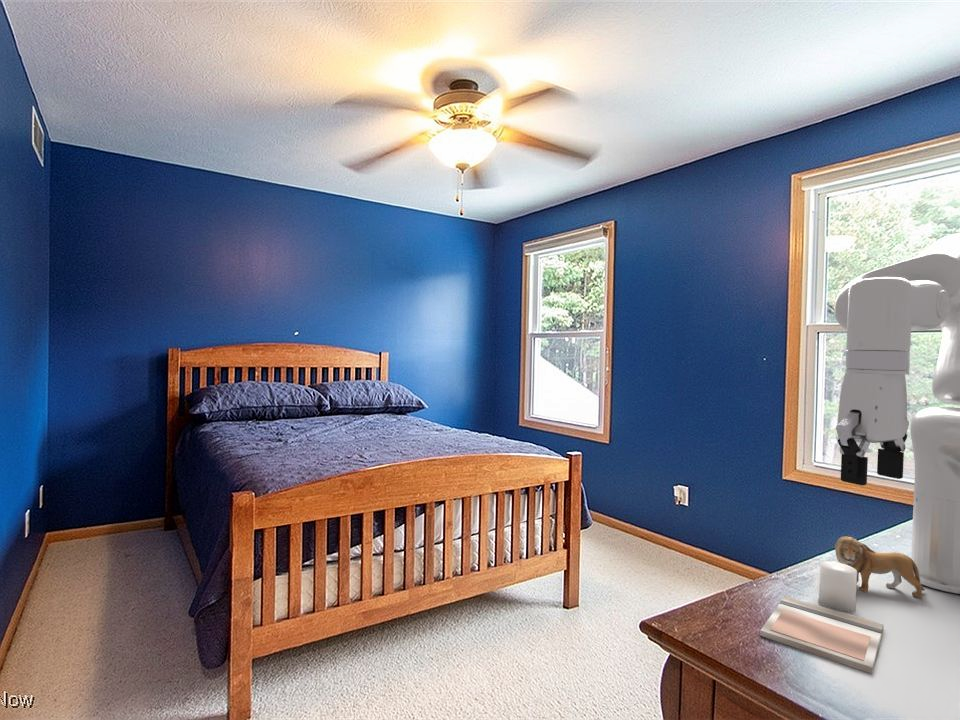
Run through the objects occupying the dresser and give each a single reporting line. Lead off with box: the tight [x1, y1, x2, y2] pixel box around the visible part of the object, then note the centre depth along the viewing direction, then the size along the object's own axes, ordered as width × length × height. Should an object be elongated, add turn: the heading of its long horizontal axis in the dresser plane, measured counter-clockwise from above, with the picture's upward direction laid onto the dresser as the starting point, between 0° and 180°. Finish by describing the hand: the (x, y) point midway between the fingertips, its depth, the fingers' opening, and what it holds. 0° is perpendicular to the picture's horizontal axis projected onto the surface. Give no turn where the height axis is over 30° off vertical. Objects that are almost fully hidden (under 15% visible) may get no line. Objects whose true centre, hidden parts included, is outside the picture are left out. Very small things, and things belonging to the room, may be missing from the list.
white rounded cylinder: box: [818, 560, 858, 612], centre depth 88 cm, size 5×5×6 cm
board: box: [759, 595, 885, 674], centre depth 79 cm, size 15×13×1 cm
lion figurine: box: [834, 535, 926, 599], centre depth 94 cm, size 15×5×9 cm, turn 85°
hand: (872, 479), depth 79 cm, fingers open, 9 cm apart
